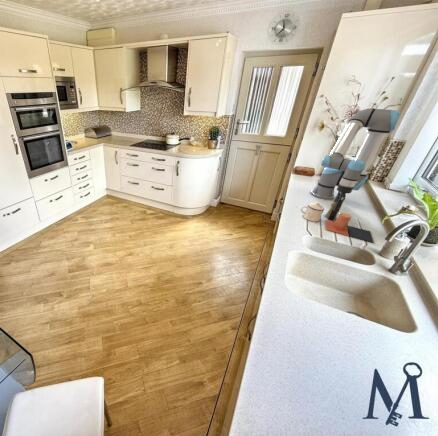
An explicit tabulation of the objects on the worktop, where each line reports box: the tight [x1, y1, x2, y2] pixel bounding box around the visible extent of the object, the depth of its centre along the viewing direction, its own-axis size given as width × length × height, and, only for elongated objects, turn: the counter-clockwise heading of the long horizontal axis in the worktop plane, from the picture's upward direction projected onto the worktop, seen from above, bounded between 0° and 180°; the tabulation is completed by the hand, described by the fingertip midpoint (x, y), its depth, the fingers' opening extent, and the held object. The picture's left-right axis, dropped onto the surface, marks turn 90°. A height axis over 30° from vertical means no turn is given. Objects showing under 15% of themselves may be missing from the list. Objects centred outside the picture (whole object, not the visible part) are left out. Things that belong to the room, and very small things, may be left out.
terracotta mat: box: [325, 219, 350, 237], centre depth 145 cm, size 14×11×1 cm
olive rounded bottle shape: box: [324, 201, 342, 221], centre depth 154 cm, size 6×6×11 cm
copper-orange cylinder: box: [333, 212, 352, 230], centre depth 142 cm, size 6×6×9 cm
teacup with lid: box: [300, 201, 325, 223], centre depth 152 cm, size 12×9×12 cm
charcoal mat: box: [347, 225, 374, 244], centre depth 139 cm, size 14×11×1 cm
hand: (330, 217), depth 156 cm, fingers open, 7 cm apart
